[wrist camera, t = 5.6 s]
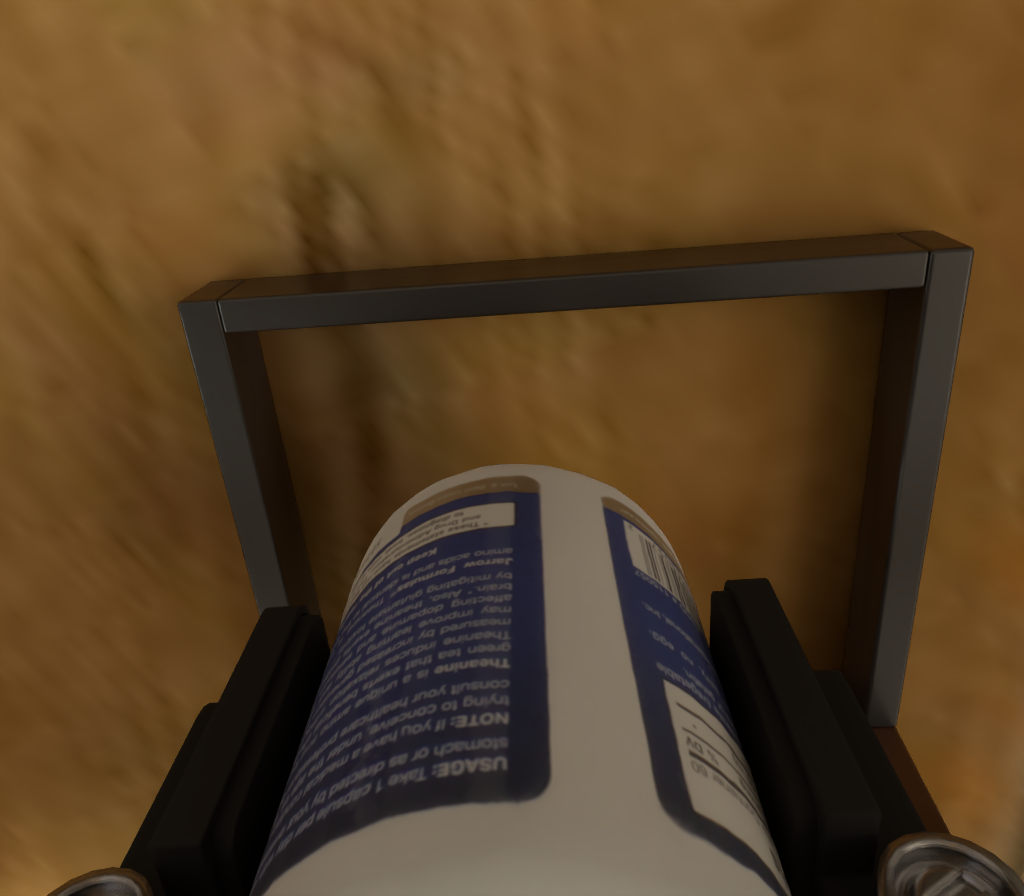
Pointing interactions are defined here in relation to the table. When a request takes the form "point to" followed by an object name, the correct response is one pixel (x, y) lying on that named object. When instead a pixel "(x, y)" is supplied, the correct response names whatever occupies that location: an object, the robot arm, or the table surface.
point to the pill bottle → (520, 713)
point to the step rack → (609, 284)
